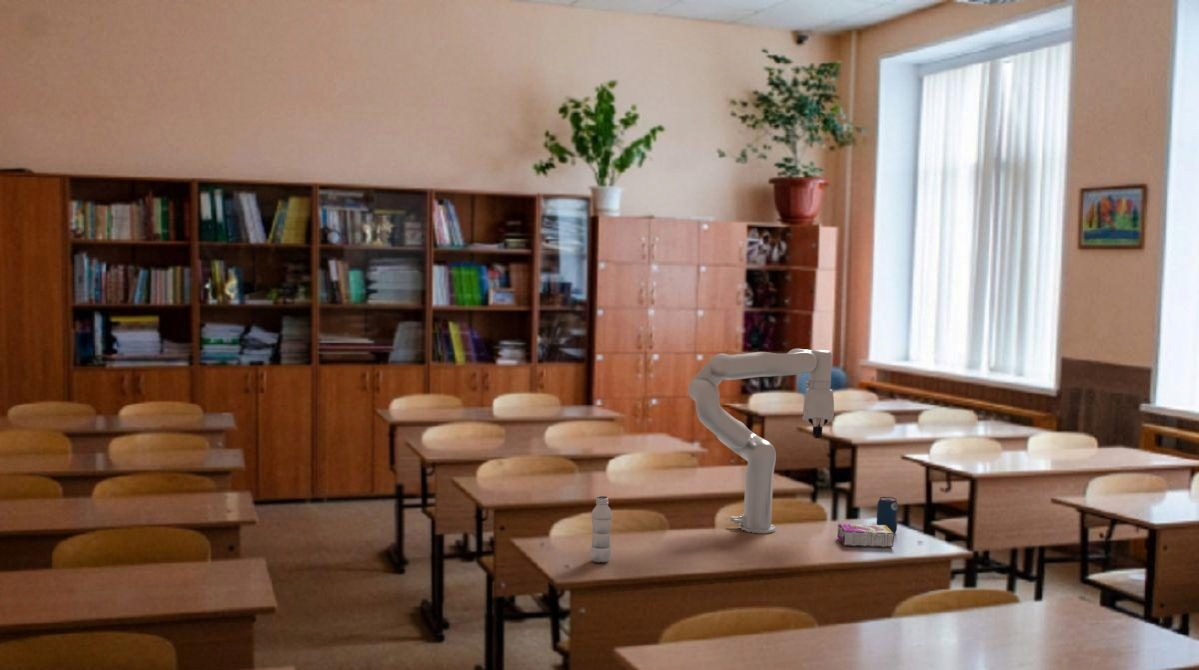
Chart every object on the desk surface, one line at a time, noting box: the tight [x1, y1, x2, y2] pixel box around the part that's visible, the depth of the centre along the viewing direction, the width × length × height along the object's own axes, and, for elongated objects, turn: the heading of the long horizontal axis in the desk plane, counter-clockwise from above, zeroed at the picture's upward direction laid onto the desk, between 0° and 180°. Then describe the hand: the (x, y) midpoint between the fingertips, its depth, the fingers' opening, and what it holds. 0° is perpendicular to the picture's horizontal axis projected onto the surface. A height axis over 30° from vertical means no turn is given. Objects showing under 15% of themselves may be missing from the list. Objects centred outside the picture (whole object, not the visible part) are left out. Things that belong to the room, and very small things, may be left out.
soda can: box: [875, 496, 899, 535], centre depth 371 cm, size 7×7×12 cm
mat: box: [844, 545, 892, 549], centre depth 359 cm, size 15×12×1 cm
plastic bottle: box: [589, 495, 613, 563], centre depth 326 cm, size 6×7×20 cm
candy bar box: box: [837, 523, 895, 548], centre depth 357 cm, size 11×5×16 cm
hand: (817, 437), depth 373 cm, fingers closed
